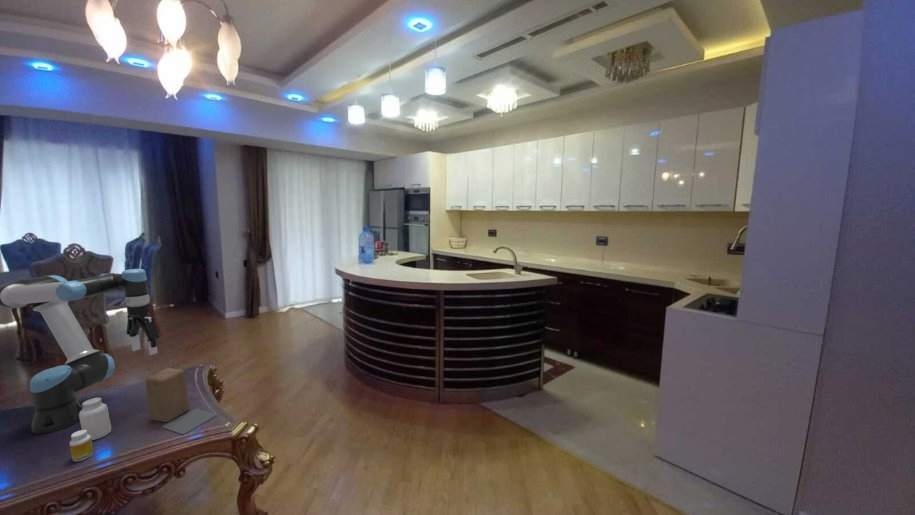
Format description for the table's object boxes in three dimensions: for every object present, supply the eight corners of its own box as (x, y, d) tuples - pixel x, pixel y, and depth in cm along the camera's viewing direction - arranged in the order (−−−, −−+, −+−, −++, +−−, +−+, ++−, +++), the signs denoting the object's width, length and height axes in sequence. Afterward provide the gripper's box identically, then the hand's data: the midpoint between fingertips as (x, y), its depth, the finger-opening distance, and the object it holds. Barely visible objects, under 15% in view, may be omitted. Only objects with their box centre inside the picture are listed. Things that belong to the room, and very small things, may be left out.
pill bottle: (91, 431, 143) (85, 397, 141) (115, 426, 146) (110, 394, 144) (78, 443, 136) (71, 408, 133) (104, 438, 139) (98, 404, 136)
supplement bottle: (93, 456, 129) (89, 432, 127) (72, 464, 125) (67, 439, 123) (93, 449, 132) (89, 426, 131) (72, 456, 129) (68, 433, 127)
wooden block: (168, 423, 148) (162, 380, 145) (149, 420, 150) (143, 377, 147) (190, 410, 158) (185, 369, 155) (172, 407, 160) (167, 367, 157)
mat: (161, 427, 145) (161, 426, 145) (196, 409, 158) (196, 408, 158) (183, 435, 141) (183, 434, 141) (217, 415, 154) (217, 414, 154)
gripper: (111, 304, 151) (118, 351, 154) (145, 310, 143) (152, 359, 146) (132, 299, 158) (138, 344, 161) (165, 305, 150) (171, 352, 153)
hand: (145, 351), depth 154 cm, fingers open, 11 cm apart
